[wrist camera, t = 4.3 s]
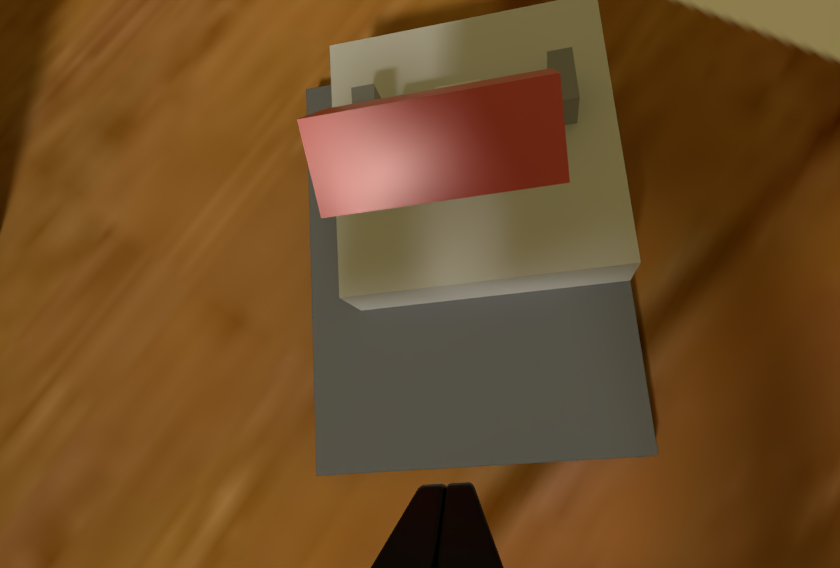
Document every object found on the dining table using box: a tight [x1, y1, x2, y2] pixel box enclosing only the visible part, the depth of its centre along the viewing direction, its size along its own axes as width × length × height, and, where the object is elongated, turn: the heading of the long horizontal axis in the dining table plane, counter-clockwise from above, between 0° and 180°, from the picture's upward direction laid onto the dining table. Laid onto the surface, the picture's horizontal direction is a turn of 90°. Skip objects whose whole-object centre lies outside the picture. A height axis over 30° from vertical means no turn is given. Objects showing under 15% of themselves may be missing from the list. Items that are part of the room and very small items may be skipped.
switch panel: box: [306, 0, 658, 476], centre depth 21 cm, size 16×12×5 cm
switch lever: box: [297, 68, 570, 218], centre depth 16 cm, size 2×5×10 cm
